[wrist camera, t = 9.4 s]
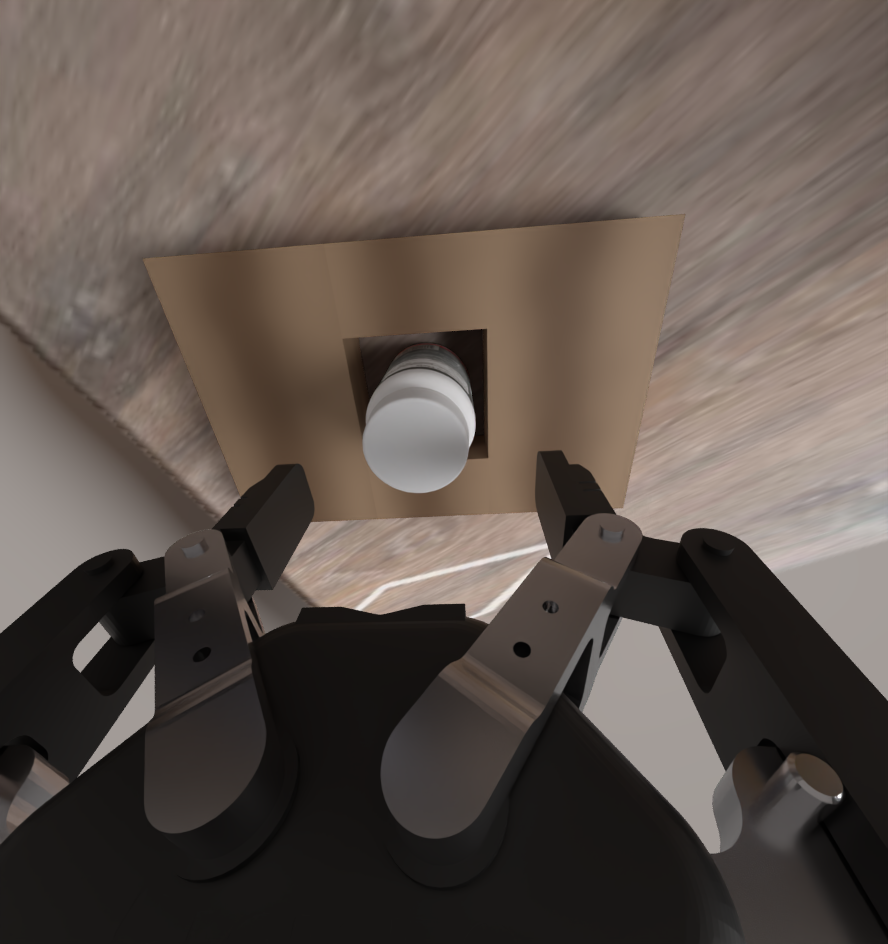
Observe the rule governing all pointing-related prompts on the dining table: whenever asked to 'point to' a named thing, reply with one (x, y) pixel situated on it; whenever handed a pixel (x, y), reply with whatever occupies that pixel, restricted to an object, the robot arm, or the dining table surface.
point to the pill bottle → (420, 420)
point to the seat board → (424, 311)
